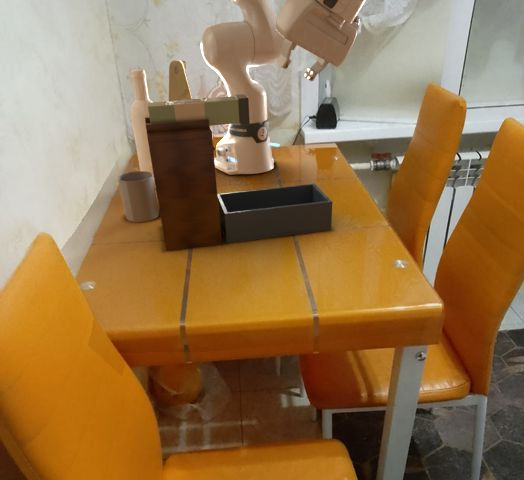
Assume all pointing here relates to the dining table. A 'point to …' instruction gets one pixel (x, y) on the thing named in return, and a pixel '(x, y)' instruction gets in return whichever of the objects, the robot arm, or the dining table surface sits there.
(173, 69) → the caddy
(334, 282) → the dining table surface
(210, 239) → the stand
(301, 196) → the crate
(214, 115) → the drawer
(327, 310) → the dining table surface
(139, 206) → the cup
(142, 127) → the bottle
